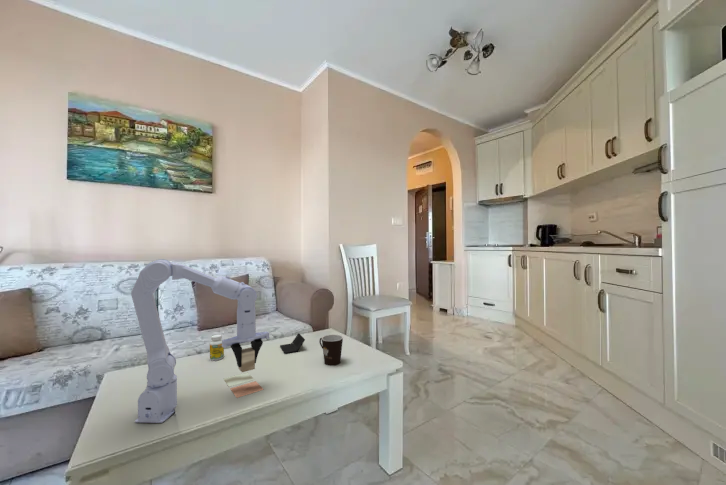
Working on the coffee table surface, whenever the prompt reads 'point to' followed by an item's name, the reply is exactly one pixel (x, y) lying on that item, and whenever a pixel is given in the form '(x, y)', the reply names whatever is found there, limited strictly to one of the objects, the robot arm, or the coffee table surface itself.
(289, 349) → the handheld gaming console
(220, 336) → the supplement bottle
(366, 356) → the coffee table surface
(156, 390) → the robot arm
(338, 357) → the coffee mug
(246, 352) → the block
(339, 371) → the coffee table surface
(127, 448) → the coffee table surface
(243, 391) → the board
